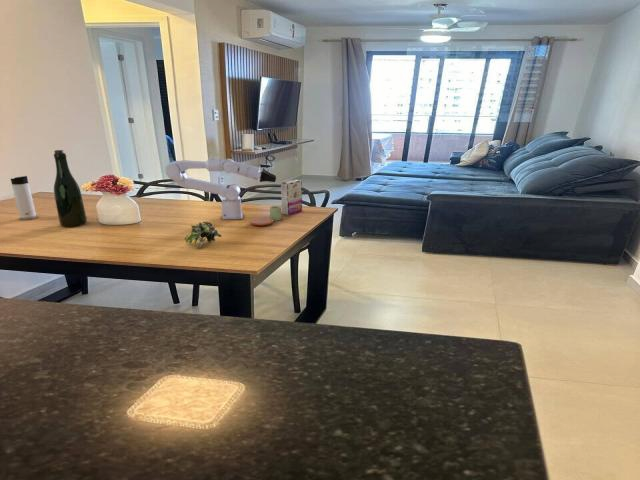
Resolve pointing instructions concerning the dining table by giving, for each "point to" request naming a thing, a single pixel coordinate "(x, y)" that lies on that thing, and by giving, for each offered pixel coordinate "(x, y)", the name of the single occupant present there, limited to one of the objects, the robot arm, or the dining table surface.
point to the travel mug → (23, 198)
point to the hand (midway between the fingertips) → (275, 178)
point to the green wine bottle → (67, 194)
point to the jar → (275, 213)
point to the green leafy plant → (202, 233)
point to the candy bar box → (291, 197)
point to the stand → (261, 221)
